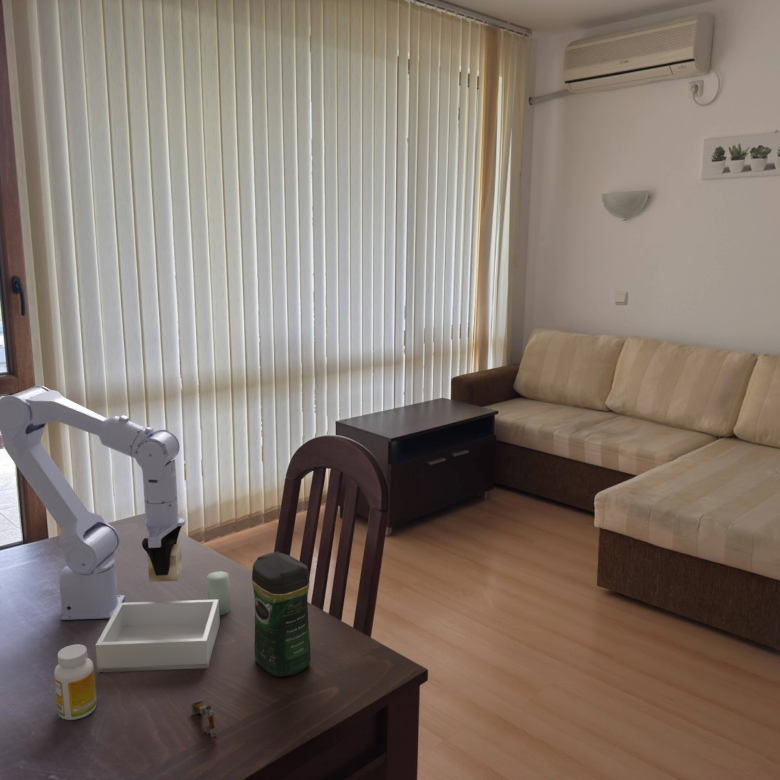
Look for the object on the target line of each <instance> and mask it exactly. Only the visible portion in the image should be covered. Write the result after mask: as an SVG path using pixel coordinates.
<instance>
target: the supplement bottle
mask: <svg viewBox="0 0 780 780" xmlns="http://www.w3.org/2000/svg"><path fill="white" fill-rule="evenodd" d="M57 663H58V664H57V665H56V666H55V667H54V673H53V675H54V676H53V677H54V687H55V697H56V707H57V708H56V709H57V714H58V716H59V717H60V718H61V719H62V720H67V721H74V720H79V719H83V718H84V717H87V716H89V715H90V714H92V713H93V712H94V711H95V709H96V707H97V704H98V701H97V692H96V680H95V679H96V678H95V669H94V663H93V661H92V659H90V658H89V657H88V648H87V646H85V645H83V644H80V643H79V644H77V643H75V644H72V645H71V644H70V645H67V646H65V647H63V648H61V649H60V650H59V651H58V653H57Z"/></svg>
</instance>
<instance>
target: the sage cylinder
mask: <svg viewBox="0 0 780 780" xmlns="http://www.w3.org/2000/svg"><path fill="white" fill-rule="evenodd" d="M206 585H207V588H206V589H207V600H215V599H219V616H224V615H226V614H227V613H230V611H231V601H230V600H231V598H230V597H231V596H230V593H231V592H230V575H229V573H228V572H226V571H221V570H219V571H213V572H210V573H208V574H207V576H206Z"/></svg>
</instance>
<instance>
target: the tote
mask: <svg viewBox="0 0 780 780" xmlns="http://www.w3.org/2000/svg"><path fill="white" fill-rule="evenodd" d="M220 618H221V617H220V615H219V599H215V600H208V599H194V600H193V599H192V600H191V599H190V600H187V599H186V600H164V601H163V600H162V601H160V600H159V601H132V602H131V601H130V602H122V603H119V604H118V606H117V607H116V609H115V611H114V613H113V615H112V616H111V618H109V620H108V622H107V624H106V625H105V627H104V629H103V630H102V633H101V635H100V636H99V638H98V640H97V641H96V644H95V654H96V655H95V656H96V666H97V667H96V668H97V673H98V674H100V672H103V673H120V672H121V673H122V672H123V673H124V672H145V671H167V670H168V671H169V670H170V671H171V670H191V669H193V670H194V669H208V668H209V667H210V662H211V659H212V654H213V651H214V647H215V643H216V640H217V636H218V632H219V628H220V625H221V623H220V621H221V620H220Z"/></svg>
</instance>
